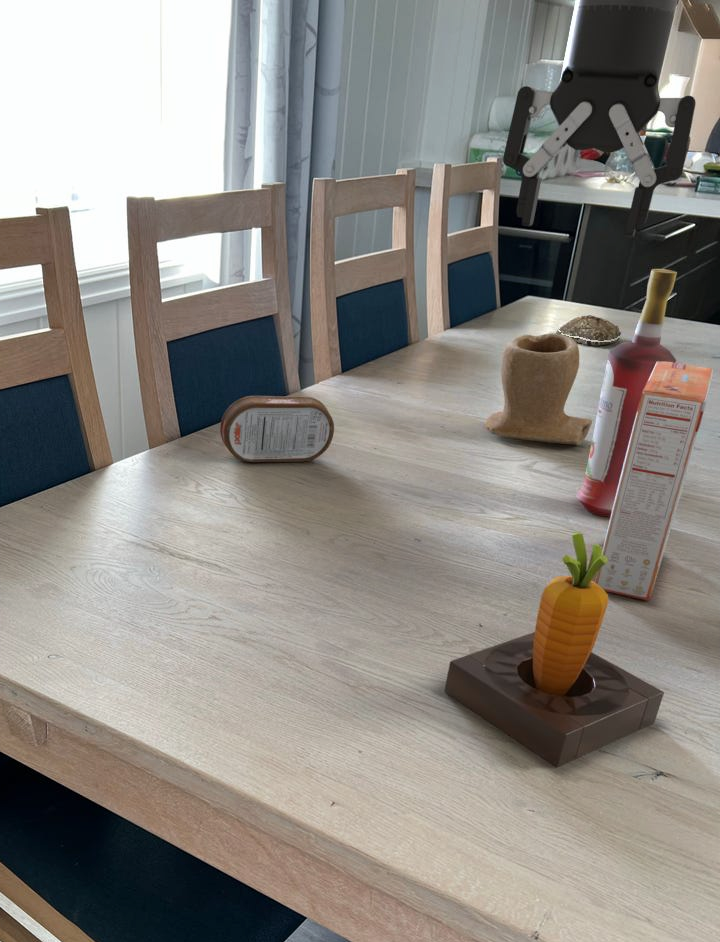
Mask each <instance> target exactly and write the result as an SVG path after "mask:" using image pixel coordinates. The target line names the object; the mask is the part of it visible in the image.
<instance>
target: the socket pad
mask: <svg viewBox="0 0 720 942" xmlns="http://www.w3.org/2000/svg"><path fill="white" fill-rule="evenodd" d="M534 634H535V631H533V632H531V633H528V634H525V635H522V636H519V637H516V638H513V639H510V640H507V641H504V642H501V643H498V644H495V645H493V646H490V647H487V648H484V649H480V650H477V651H475V652H472V653H469V654H468V655H467V654H466V655H464V656H461V657H459V658H455V659H452V660H450V661H449V665H448V669H447V674H446V681H445V686H444V692H445V693H446V694H447V695H448V696H450V697H452V698H453V699H455V700H456V701H457V702H459V703H460V704H462V705H463V706H464V707H467V708H468V709H470V710H471V711H472V712H474V713H476V714H477V715H478V716H480V717H481V718H483V719H485V720H486V721H488V722H489V723H491V724H492V725H493V726H495V727H496V728H497V729H499V730H501V731H502V732H504V733H506V735H509V736H510V737H511V738H513V739H514V740H516V741H517V742H519V743H520V744H522V745H523V746H525V747H526V748H527V749H529V750H530V751H531V752H533V753H535V754H536V755H538V756H539V757H541V758H542V759H544V760H546V761H547V762H548V763H550V764H551V765H552V766H554V767H556V768H559V767H561V766H564V765H565V764H568V763H570V762H572V761H575V760H576V759H578V758H580V757H583V756H584V755H587V754H589V753H591V752H593V751H595V750H598V749H600V748H602V747H604V746H607V745H609V744H611V743H613V742H615V741H617V740H620V739H622V738H624V737H625V736H628V735H630V734H632V733H635V732H637V731H640V730H642V729H644V728H646V727H648V726H650V725H653V724H655V722H656V719H657V716H658V713H659V710H660V707H661V703H662V700H663V698H664V694H665V691H663V690H662V689H660V688H658V687H655V686H654V685H652V684H650V683H649V682H646V680H645V681H644V680H643V679H641V678H640V677H637V676H636V675H634V674H632V673H631V672H628V671H627V670H625V669H623V668H621V667H620V666H618V665H615V664H614V663H613V662H610V661H609V660H607V659H605V658H603V657H602V656H600V655H597V654H596V653H594V652H592V651H591V653H590V655H589V657H588V659H587V661H586V663H585V665H584V667H583V669H582V670H581V672H580V674H579V676H578V678H577V679H576V681H575V682H574V684H573V685H572V686H571V687H570V689H569V690H568V691H567V693H566V694H565V695H568V696H563V697H562V696H555V695H550V694H547V693H544V692H541V691H538V690H537V688H536V685H535V679H534V673H533V644H534Z"/></svg>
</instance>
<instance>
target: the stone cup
mask: <svg viewBox="0 0 720 942" xmlns="http://www.w3.org/2000/svg"><path fill="white" fill-rule="evenodd" d="M579 368H580V348H579V345H578V343H577V342H575V341H574V340H573V339H571V338H569V337H567V336H563V335H559V334H556V333H544V334H539V335H531V334H523V335H519V336H517V337H515V338H513V339H511V340H510V341H509V342H507V344H506V346H505V347H504V350H503V354H502V361H501V370H500V376H501V377H500V378H501V379H500V380H501V386H502V391H503V399H504V404H503V410H502V411H499V412H494V413H492V414H491V415H489V416H488V417H487V418H486V419H485V424H484V425H485V428H486V430H487V431H489V432H490V433H491V434H492V435H496V436H500V437H503V438H510V439H516V440H522V441H523V440H524V441H531V442H541V443H542V442H543V443H550V444H551V443H552V444H560V445H561V444H562V445H571V446H579V445H581V444H582V442H583V441H584V440H585V439H586V437H587V436H588V434H589V432H590V429H591V426H592V424H593V419H591V418H586V417H577V416H573V415H568V414H566V413H565V406H566V403H567V400H568V397H569V395H570V393H571V390H572V387H573V385H574V383H575V380H576V378H577V374H578V372H579Z"/></svg>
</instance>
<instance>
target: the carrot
mask: <svg viewBox="0 0 720 942" xmlns="http://www.w3.org/2000/svg"><path fill="white" fill-rule="evenodd" d="M571 537H572V543H573V549H574V553H575V557H576V559H575V558H574V557H572V556H569V555H567V554H565V555H563V556H562V562H563V564H564V565H566V567H567V569H568V572H569V573H570V575H562V576H556V577H554V578H553V579H552V580H551V581H550V582H549V583H548V584H547V585H546V586H545V588H544V589H543V592H542V594H541V597H540V603H539V606H538V607H539V608H538V612H537V616H536V617H537V618H536V622H535V623H536V624H535V629H534V632H535V634H534V644H533V673H534V679H535V685H536V687H535V689H536V690H538V691H541V692H544V693H547V694H550V695H555V696H562V697H565V695H567V694H566V693H567V691H568V690H569V689H570V687H571V686H572V685H573V684H574V682H575V681H576V679H577V678H578V676H579V674H580V672H581V670H582V669H583V667H584V665H585V663H586V661H587V659H588V657H589V655H590V653H591V652H592V651H593V649H594V648H595V647H594V646H595V644H596V642H597V638H598V636H599V633H600V630H601V628H602V623H603V620H604V619H605V618H604V617H605V615H606V610H607V607H608V605H609V594H608V592H607V591H605V590H604V589H602V588H601V587H600V586H599V585H598V584H597V583H595V581H594V580H593V579H594V578H595V577H596V576H597V572H598V571H599V570H600V568H601V567H602V566H603V565H605V563H606V562H607V561H608V559H607V558H606V557H605V556H604V555H602V551H603V547H601V545H600V544H597V543H593V544H592V548H591V554H590V559H589V563H588V555H587V548H586V542H585V538H584V535H583V532H578V531H576V532H574V533H572V534H571Z"/></svg>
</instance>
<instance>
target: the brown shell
mask: <svg viewBox="0 0 720 942" xmlns="http://www.w3.org/2000/svg"><path fill="white" fill-rule="evenodd" d="M559 328H560V329H559ZM559 328H558V329H559V330H560V331H561V332H559V331H558V329H557V330H556V332H555V334H559V335H562V334H561V333H563V334H567V335H570V336H579V337H583V338H586V339H590V340H598V341H604V340H611V339H615V338H617V337H618V336H620V335H621V336H622V332H621V331H620V328H619V326H618V325H615V324H614V323H613V322H611V321H609V320H608V319H606V318H602V317H598V316H595V315H592V314H588V315H581V316H576V317H575V318H573V319H571V320H570V321H568V322H566V323H565V324H563V325H562V326H560V327H559ZM563 336H566V335H563ZM567 337H569V336H567ZM569 338H571V339H573V340H574V341H575V342H576V343H577V344H581V345H584V346H591V347H601V346H607V345H610V344H614V343H616V342H617V341H619V340H620V339H621V337H620V338H618V339H617V340H615V341H611V342H591V341H586V340H583V339H580V338H574V337H569Z"/></svg>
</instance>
